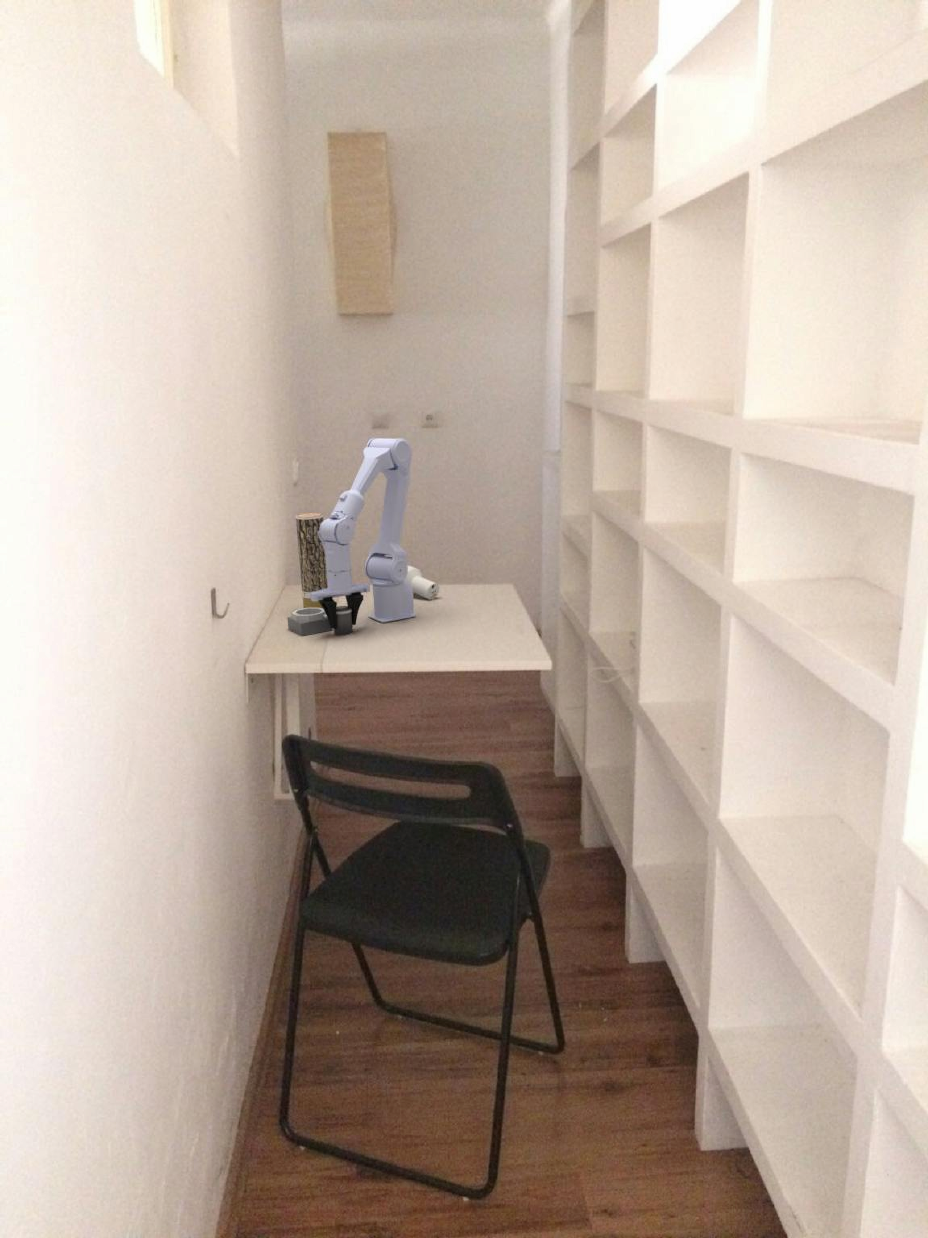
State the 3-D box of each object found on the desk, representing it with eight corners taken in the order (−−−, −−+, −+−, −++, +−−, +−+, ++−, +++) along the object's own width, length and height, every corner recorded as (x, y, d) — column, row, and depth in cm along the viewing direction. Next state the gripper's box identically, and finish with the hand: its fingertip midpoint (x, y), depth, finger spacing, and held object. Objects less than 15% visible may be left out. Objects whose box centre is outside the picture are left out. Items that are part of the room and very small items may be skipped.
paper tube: (332, 607, 254) (325, 512, 248) (326, 614, 248) (319, 517, 241) (307, 608, 255) (299, 513, 249) (300, 614, 248) (292, 517, 242)
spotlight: (414, 586, 269) (413, 560, 265) (444, 599, 262) (443, 573, 258) (393, 597, 264) (392, 571, 260) (424, 610, 257) (422, 584, 253)
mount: (318, 623, 239) (317, 605, 238) (332, 630, 232) (331, 611, 231) (288, 629, 235) (286, 611, 234) (301, 636, 228) (300, 617, 227)
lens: (348, 629, 233) (346, 604, 231) (356, 632, 229) (354, 608, 227) (331, 632, 230) (329, 608, 229) (339, 636, 227) (337, 611, 225)
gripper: (359, 562, 233) (362, 617, 236) (303, 571, 225) (308, 628, 229) (372, 567, 227) (376, 623, 230) (315, 576, 219) (320, 634, 223)
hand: (343, 626), depth 229 cm, fingers closed on lens, 4 cm apart
